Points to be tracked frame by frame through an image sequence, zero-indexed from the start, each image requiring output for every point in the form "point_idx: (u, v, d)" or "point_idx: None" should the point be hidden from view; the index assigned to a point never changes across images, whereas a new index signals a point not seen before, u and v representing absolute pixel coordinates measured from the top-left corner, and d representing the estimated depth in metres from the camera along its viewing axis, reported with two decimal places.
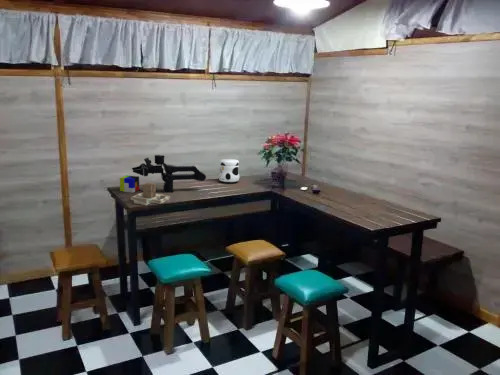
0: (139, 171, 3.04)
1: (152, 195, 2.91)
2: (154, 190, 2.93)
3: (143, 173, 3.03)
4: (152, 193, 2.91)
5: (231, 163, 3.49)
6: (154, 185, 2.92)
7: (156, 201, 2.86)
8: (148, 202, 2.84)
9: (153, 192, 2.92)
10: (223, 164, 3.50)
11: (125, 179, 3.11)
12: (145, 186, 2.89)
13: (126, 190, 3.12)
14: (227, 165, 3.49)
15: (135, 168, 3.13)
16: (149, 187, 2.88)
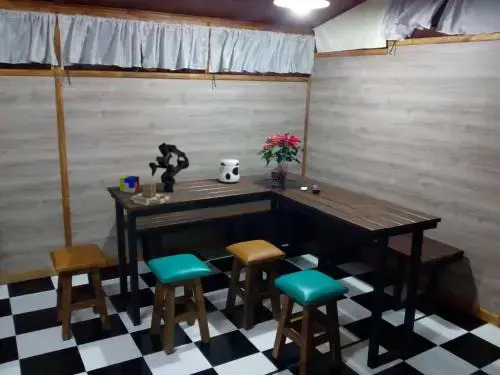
0: (167, 172, 3.03)
1: (152, 195, 2.91)
2: (154, 190, 2.93)
3: (172, 170, 3.04)
4: (152, 193, 2.91)
5: (231, 163, 3.49)
6: (154, 185, 2.92)
7: (156, 201, 2.86)
8: (148, 202, 2.84)
9: (153, 192, 2.92)
10: (223, 164, 3.50)
11: (125, 179, 3.11)
12: (145, 186, 2.89)
13: (126, 190, 3.12)
14: (227, 165, 3.49)
15: (153, 173, 3.05)
16: (149, 187, 2.88)
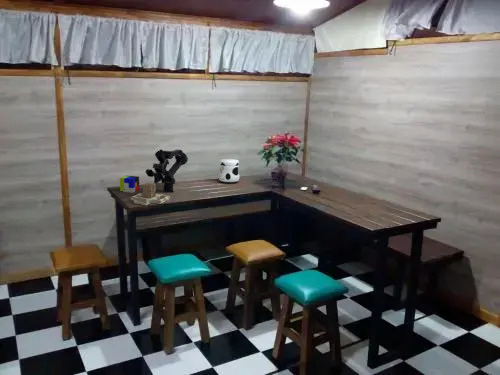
0: (159, 178, 3.01)
1: (152, 195, 2.91)
2: (154, 190, 2.93)
3: (163, 177, 3.02)
4: (152, 193, 2.91)
5: (231, 163, 3.49)
6: (154, 185, 2.92)
7: (156, 201, 2.86)
8: (148, 202, 2.84)
9: (153, 192, 2.92)
10: (223, 164, 3.50)
11: (125, 179, 3.11)
12: (145, 186, 2.89)
13: (126, 190, 3.12)
14: (227, 165, 3.49)
15: None
16: (149, 187, 2.88)
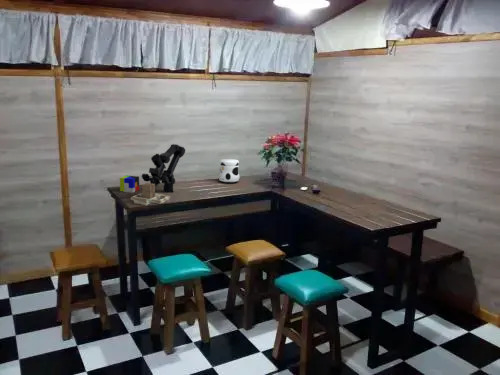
0: (155, 183, 2.96)
1: (151, 195, 2.90)
2: (154, 190, 2.92)
3: (159, 181, 2.98)
4: (151, 193, 2.90)
5: (231, 163, 3.49)
6: (153, 185, 2.91)
7: (156, 201, 2.86)
8: (148, 202, 2.84)
9: (152, 192, 2.91)
10: (223, 164, 3.50)
11: (125, 179, 3.11)
12: (144, 186, 2.88)
13: (126, 190, 3.12)
14: (227, 165, 3.49)
15: None
16: (148, 187, 2.87)
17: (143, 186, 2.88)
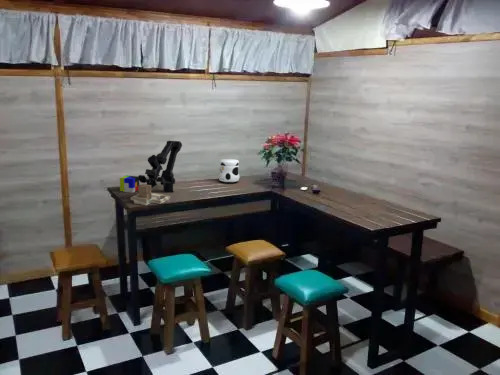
0: (151, 185, 2.92)
1: (148, 197, 2.85)
2: (150, 192, 2.88)
3: (156, 183, 2.93)
4: (148, 195, 2.85)
5: (231, 163, 3.49)
6: (150, 187, 2.87)
7: (156, 201, 2.86)
8: (148, 202, 2.84)
9: (149, 194, 2.86)
10: (223, 164, 3.50)
11: (125, 179, 3.11)
12: (141, 188, 2.84)
13: (126, 190, 3.12)
14: (227, 165, 3.49)
15: None
16: (145, 189, 2.83)
17: (139, 187, 2.84)
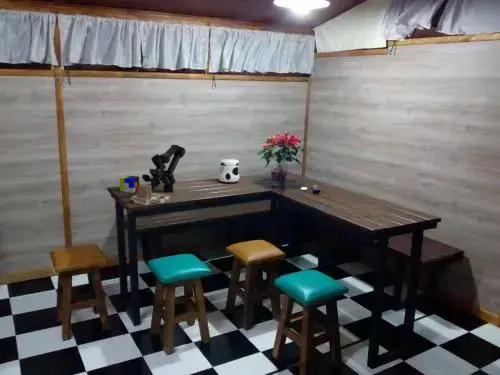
0: (155, 184, 2.97)
1: (148, 197, 2.85)
2: (150, 192, 2.88)
3: (160, 182, 2.98)
4: (148, 195, 2.85)
5: (231, 163, 3.49)
6: (150, 187, 2.87)
7: (156, 201, 2.86)
8: (148, 202, 2.84)
9: (149, 194, 2.86)
10: (223, 164, 3.50)
11: (125, 179, 3.11)
12: (141, 188, 2.84)
13: (126, 190, 3.12)
14: (227, 165, 3.49)
15: None
16: (145, 189, 2.83)
17: (139, 187, 2.84)
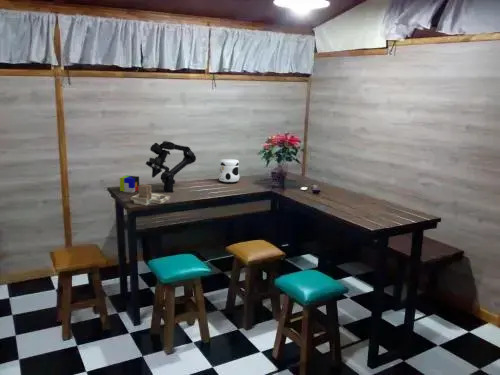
0: (156, 172, 3.06)
1: (148, 197, 2.85)
2: (150, 192, 2.88)
3: (161, 170, 3.06)
4: (148, 195, 2.85)
5: (231, 163, 3.49)
6: (150, 187, 2.87)
7: (156, 201, 2.86)
8: (148, 202, 2.84)
9: (149, 194, 2.86)
10: (223, 164, 3.50)
11: (125, 179, 3.11)
12: (141, 188, 2.84)
13: (126, 190, 3.12)
14: (227, 165, 3.49)
15: None
16: (145, 189, 2.83)
17: (139, 187, 2.84)
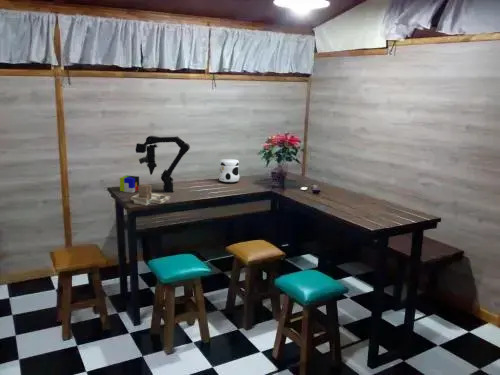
0: (151, 168, 3.14)
1: (148, 197, 2.85)
2: (150, 192, 2.88)
3: None
4: (148, 195, 2.85)
5: (231, 163, 3.49)
6: (150, 187, 2.87)
7: (156, 201, 2.86)
8: (148, 202, 2.84)
9: (149, 194, 2.86)
10: (223, 164, 3.50)
11: (125, 179, 3.11)
12: (141, 188, 2.84)
13: (126, 190, 3.12)
14: (227, 165, 3.49)
15: None
16: (145, 189, 2.83)
17: (139, 187, 2.84)
